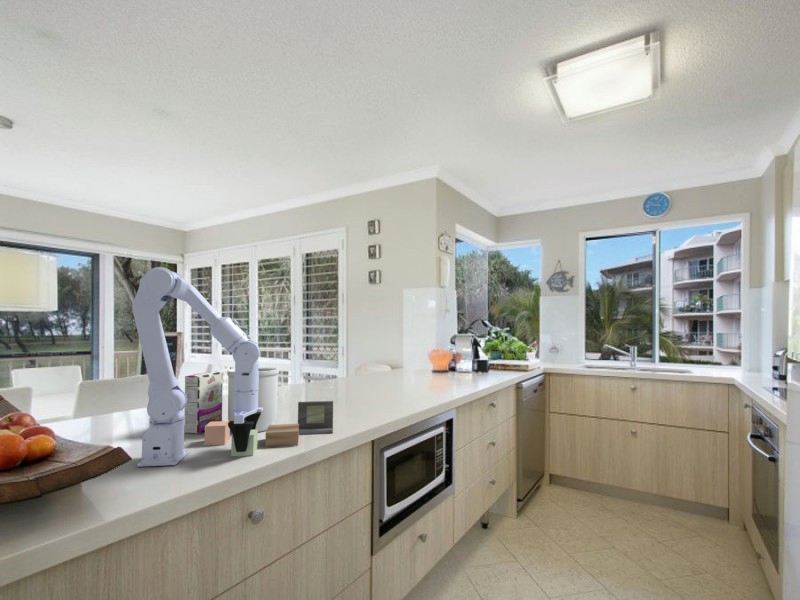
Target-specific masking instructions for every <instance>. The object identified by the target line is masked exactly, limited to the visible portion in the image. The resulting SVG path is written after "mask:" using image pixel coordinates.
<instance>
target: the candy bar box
mask: <svg viewBox="0 0 800 600" xmlns="http://www.w3.org/2000/svg"><path fill="white" fill-rule="evenodd" d="M223 374H224V373H223V371H215V370H214V371H213V370H212V371H205V372H201V373H194V374H191V375H189V374H188V375H186V376H184V392H185V394H186V396H187V403H186V406H185V407H184V415H185V426H184V434H188V433H192V434H193V435H194V434H195V435H199V434H202V433H205V432H204V431H205V426H206V425H207V424H208V423H210V422H218V421H223V378H224V377H223Z"/></svg>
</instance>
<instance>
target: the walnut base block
mask: <svg viewBox="0 0 800 600" xmlns="http://www.w3.org/2000/svg"><path fill="white" fill-rule="evenodd" d="M299 436H300V434H299V424H298V423H285V424H284V423H282V424H276V425H269V426H268V428H267V430H266V431H265V445H264V446H265V447H268V448H278V447H277V446H286V447H294V446H293V445H298V446H299V438H300V437H299Z"/></svg>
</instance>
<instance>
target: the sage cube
mask: <svg viewBox="0 0 800 600" xmlns="http://www.w3.org/2000/svg"><path fill="white" fill-rule="evenodd" d="M258 434H259V432H258V429H256V430H251V431H250V435H249V440H248V446H247V450H246V452H236V448H235V443H234V438H233V435H232V434H231V447H230V448H231V449H230V450H231V451H230V456H238V457H246V456H245V455H253V456H255V454H256V452H257V451H258ZM256 450H257V451H256ZM255 451H256V452H255ZM254 453H255V454H254Z"/></svg>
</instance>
